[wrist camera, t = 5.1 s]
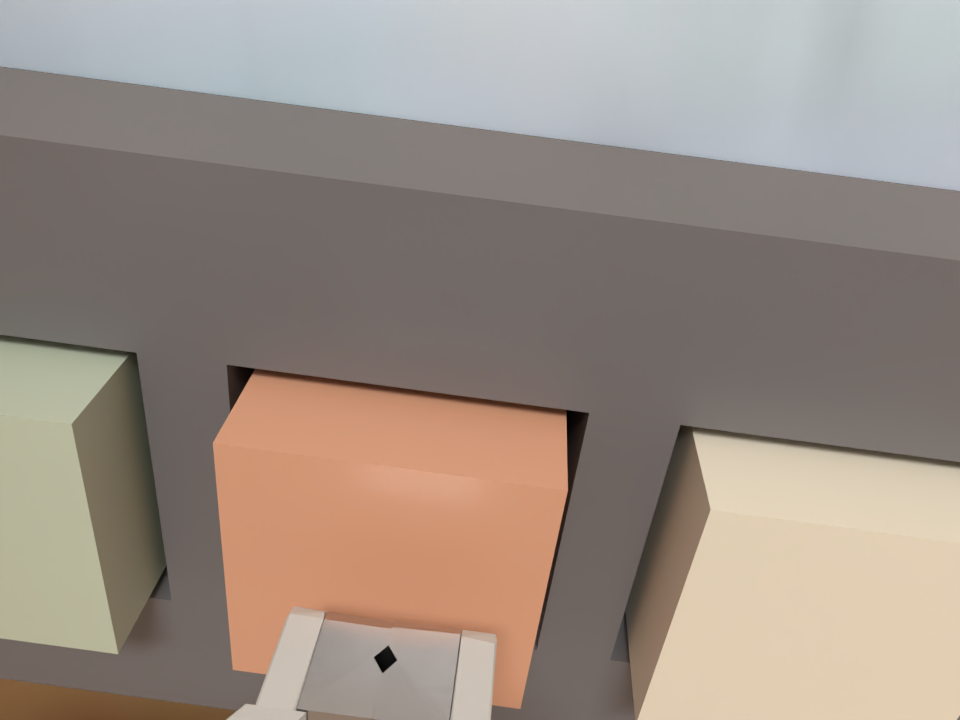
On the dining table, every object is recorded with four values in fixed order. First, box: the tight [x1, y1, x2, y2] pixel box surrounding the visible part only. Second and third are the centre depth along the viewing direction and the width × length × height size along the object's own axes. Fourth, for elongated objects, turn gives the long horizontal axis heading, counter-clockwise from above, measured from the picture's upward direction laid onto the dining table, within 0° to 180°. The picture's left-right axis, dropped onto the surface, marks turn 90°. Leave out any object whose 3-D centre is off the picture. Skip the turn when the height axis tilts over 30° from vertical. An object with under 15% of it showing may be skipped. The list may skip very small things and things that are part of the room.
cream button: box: [625, 425, 960, 720], centre depth 14 cm, size 5×5×3 cm
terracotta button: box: [213, 369, 568, 709], centre depth 14 cm, size 5×5×3 cm
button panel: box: [0, 67, 960, 720], centre depth 15 cm, size 24×12×4 cm, turn 84°
